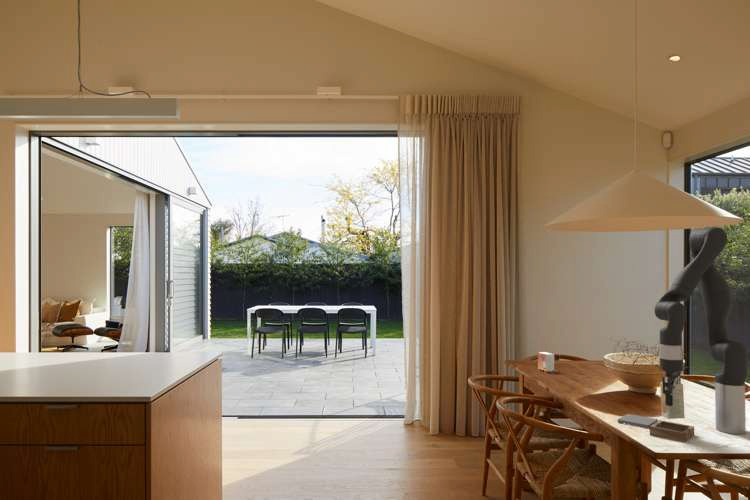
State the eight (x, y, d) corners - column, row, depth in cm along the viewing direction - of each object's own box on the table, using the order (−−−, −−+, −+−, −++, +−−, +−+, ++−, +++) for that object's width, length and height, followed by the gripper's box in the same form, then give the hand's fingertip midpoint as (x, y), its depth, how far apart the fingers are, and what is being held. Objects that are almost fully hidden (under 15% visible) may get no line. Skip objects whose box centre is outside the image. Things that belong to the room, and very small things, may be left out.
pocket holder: (659, 428, 199) (659, 420, 199) (694, 434, 191) (694, 426, 191) (649, 435, 191) (649, 426, 191) (685, 442, 183) (685, 433, 183)
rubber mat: (627, 416, 214) (627, 413, 214) (657, 422, 207) (657, 419, 207) (617, 422, 206) (617, 419, 206) (648, 428, 199) (648, 425, 199)
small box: (537, 370, 311) (537, 352, 311) (546, 369, 313) (545, 351, 313) (546, 372, 303) (546, 354, 304) (554, 372, 305) (554, 353, 305)
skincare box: (677, 415, 193) (676, 381, 194) (685, 418, 189) (684, 384, 189) (660, 415, 193) (659, 381, 194) (667, 419, 189) (666, 384, 189)
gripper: (677, 361, 184) (678, 409, 184) (688, 355, 194) (689, 401, 194) (653, 358, 189) (654, 405, 189) (665, 353, 200) (666, 398, 199)
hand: (672, 403), depth 191 cm, fingers closed on skincare box, 7 cm apart
